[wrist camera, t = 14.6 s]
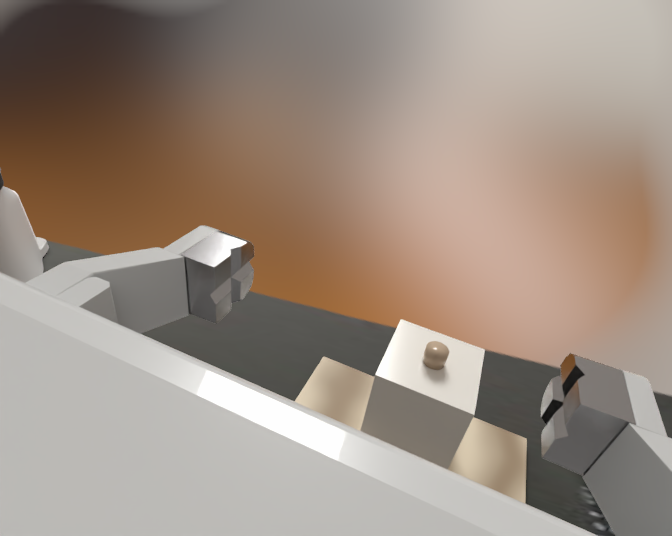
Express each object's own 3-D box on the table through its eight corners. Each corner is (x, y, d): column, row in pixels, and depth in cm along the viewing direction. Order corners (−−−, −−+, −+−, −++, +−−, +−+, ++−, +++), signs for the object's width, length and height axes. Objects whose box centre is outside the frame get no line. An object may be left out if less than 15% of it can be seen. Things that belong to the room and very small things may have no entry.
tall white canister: (352, 461, 33) (378, 362, 27) (377, 401, 38) (404, 307, 32) (432, 499, 32) (480, 402, 25) (447, 431, 37) (490, 337, 31)
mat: (247, 479, 32) (247, 474, 31) (322, 360, 43) (323, 356, 42) (519, 619, 26) (523, 615, 26) (524, 442, 38) (526, 438, 37)
